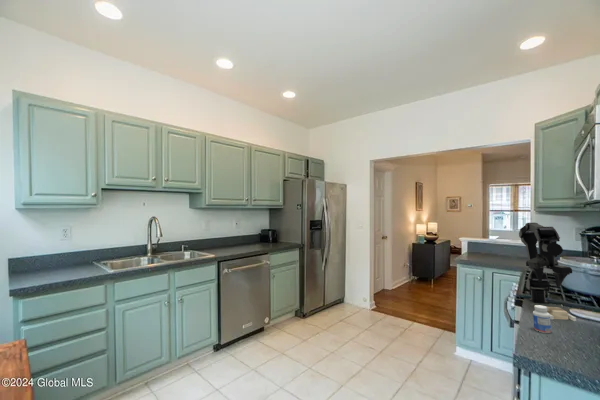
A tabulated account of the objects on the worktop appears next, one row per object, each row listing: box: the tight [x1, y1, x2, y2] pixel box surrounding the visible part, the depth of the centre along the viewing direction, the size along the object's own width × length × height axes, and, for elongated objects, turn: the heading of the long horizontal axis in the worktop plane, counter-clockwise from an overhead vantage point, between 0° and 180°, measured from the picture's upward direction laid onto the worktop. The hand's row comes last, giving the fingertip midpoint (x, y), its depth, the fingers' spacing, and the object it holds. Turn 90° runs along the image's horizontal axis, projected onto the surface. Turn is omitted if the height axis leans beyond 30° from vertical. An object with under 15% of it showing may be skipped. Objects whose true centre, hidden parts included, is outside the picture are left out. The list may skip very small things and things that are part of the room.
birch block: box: [546, 306, 569, 321], centre depth 128 cm, size 7×5×4 cm
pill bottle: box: [532, 304, 552, 334], centre depth 114 cm, size 6×5×10 cm
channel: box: [550, 313, 577, 322], centre depth 129 cm, size 12×9×2 cm
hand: (548, 284), depth 136 cm, fingers open, 9 cm apart
